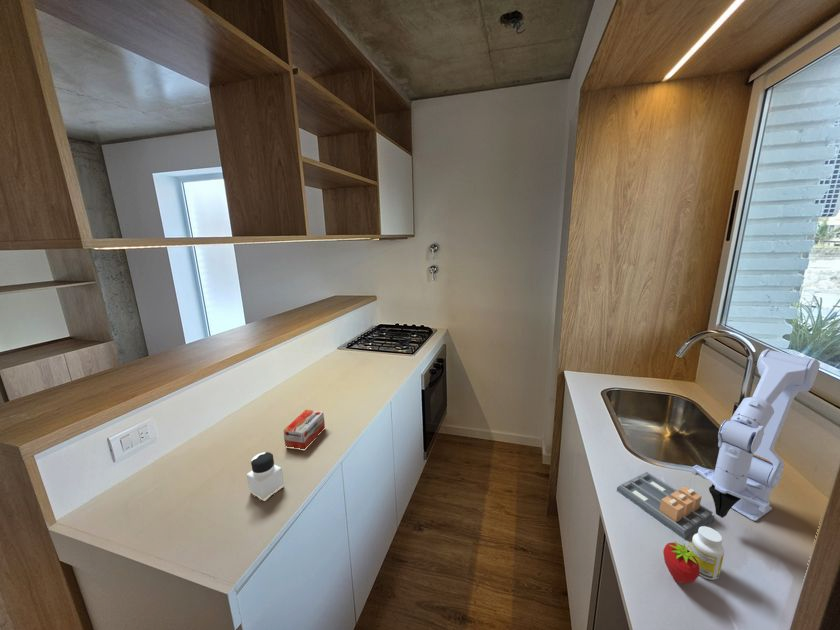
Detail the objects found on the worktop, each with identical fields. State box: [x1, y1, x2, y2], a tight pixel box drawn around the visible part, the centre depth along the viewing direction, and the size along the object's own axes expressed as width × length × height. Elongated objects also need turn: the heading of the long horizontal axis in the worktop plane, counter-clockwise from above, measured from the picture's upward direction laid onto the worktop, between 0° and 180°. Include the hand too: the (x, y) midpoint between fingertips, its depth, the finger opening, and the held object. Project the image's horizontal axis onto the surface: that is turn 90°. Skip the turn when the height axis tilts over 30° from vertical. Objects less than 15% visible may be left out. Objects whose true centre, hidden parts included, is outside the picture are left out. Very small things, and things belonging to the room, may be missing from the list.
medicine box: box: [283, 409, 326, 449], centre depth 127 cm, size 15×8×8 cm, turn 166°
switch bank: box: [616, 471, 715, 540], centre depth 93 cm, size 13×18×2 cm
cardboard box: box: [678, 485, 703, 511], centre depth 90 cm, size 3×4×5 cm, turn 25°
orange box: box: [659, 496, 684, 523], centre depth 87 cm, size 3×4×5 cm, turn 25°
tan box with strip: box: [670, 490, 693, 517], centre depth 89 cm, size 3×4×5 cm, turn 25°
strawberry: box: [662, 540, 701, 584], centre depth 72 cm, size 6×8×10 cm
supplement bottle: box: [689, 525, 725, 581], centre depth 74 cm, size 5×5×10 cm
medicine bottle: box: [246, 451, 285, 499], centre depth 101 cm, size 7×7×12 cm
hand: (721, 514), depth 84 cm, fingers closed
